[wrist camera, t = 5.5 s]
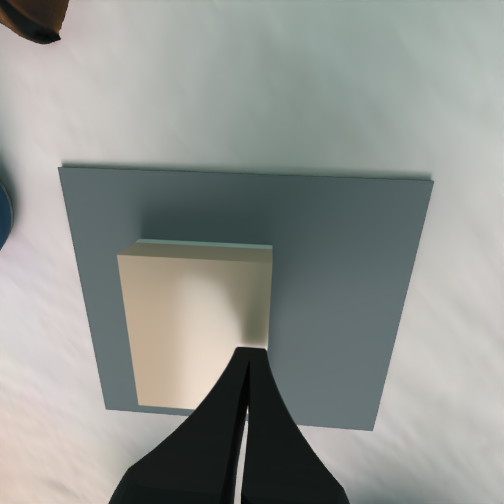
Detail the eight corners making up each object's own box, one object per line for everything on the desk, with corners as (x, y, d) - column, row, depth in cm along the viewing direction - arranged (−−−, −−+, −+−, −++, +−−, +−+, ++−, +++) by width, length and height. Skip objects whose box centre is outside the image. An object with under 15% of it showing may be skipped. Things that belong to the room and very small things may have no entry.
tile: (272, 262, 13) (116, 254, 13) (263, 415, 16) (138, 405, 16) (272, 245, 15) (139, 238, 15) (264, 381, 18) (154, 373, 18)
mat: (430, 180, 13) (433, 181, 13) (371, 426, 19) (372, 431, 19) (61, 166, 14) (57, 167, 14) (108, 405, 20) (105, 409, 20)
